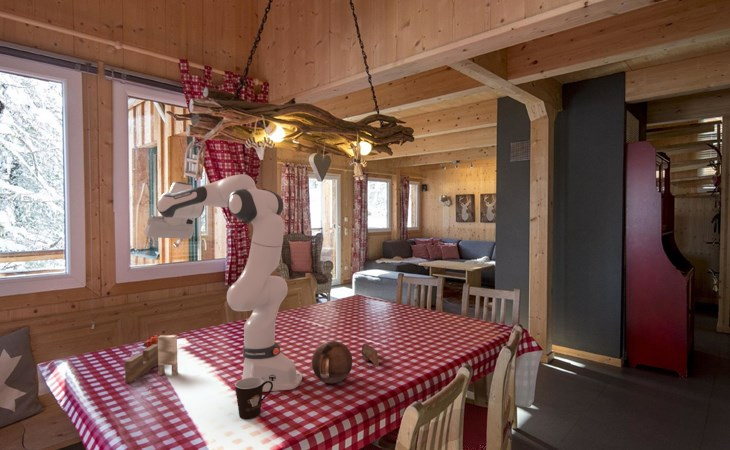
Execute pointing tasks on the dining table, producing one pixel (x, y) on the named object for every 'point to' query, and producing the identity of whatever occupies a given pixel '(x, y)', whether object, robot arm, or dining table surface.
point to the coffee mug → (250, 396)
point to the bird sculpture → (370, 354)
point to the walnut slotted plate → (141, 363)
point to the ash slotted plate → (167, 353)
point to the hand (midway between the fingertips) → (165, 246)
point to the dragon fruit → (151, 341)
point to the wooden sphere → (332, 362)
